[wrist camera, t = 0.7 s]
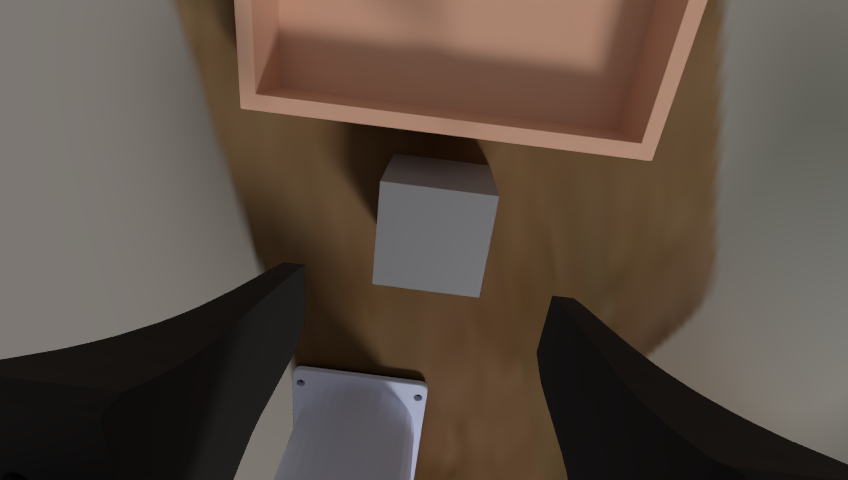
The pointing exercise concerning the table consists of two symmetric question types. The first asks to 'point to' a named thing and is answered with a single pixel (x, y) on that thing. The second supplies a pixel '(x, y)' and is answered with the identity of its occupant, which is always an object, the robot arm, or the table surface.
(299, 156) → the table surface
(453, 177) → the grey block
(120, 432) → the robot arm
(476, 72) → the terracotta bin
